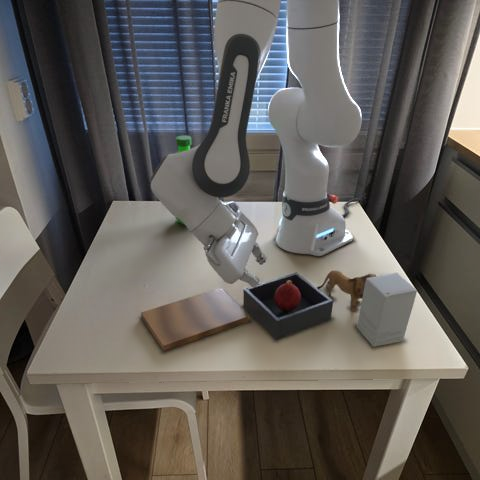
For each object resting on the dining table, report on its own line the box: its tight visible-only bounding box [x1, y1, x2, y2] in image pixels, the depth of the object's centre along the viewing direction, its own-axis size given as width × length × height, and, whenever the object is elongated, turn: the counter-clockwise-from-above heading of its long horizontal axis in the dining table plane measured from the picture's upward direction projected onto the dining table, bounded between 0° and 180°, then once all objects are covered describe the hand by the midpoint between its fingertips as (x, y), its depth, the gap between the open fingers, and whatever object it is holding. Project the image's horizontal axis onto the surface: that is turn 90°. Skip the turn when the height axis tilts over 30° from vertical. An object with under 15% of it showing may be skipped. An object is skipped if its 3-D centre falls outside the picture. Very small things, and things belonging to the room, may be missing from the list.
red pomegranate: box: [274, 280, 301, 312], centre depth 99 cm, size 6×6×8 cm
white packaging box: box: [356, 272, 418, 348], centre depth 92 cm, size 7×7×13 cm
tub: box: [242, 271, 334, 341], centre depth 100 cm, size 15×14×5 cm
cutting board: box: [140, 287, 250, 352], centre depth 99 cm, size 20×13×2 cm, turn 120°
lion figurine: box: [316, 269, 377, 312], centre depth 103 cm, size 15×5×9 cm, turn 54°
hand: (260, 272), depth 96 cm, fingers open, 8 cm apart
